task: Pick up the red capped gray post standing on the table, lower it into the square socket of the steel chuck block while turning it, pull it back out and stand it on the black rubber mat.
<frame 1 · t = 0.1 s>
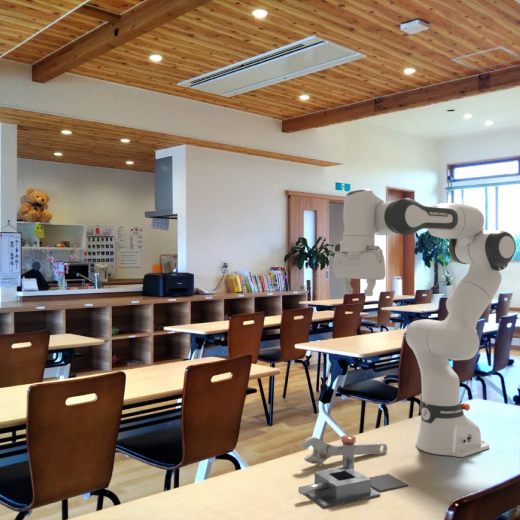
hand: (358, 294, 164), 48 cm above the table, fingers open, 8 cm apart
mat: (384, 483, 150), on the table
wrench: (345, 460, 167), on the table
chuck: (342, 492, 144), on the table
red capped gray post: (348, 474, 156), on the table
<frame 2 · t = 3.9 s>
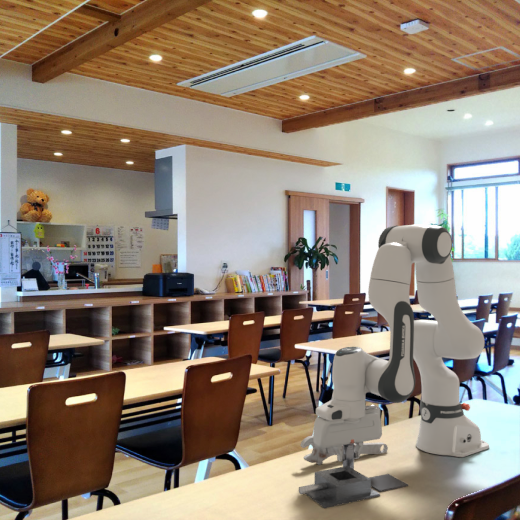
hand: (348, 459, 156), 4 cm above the table, fingers closed on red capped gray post, 3 cm apart
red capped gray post: (348, 474, 156), on the table, touching gripper
everything else where it was.
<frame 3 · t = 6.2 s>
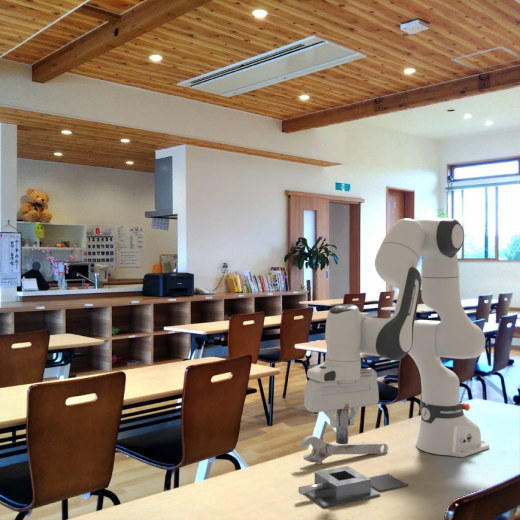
hand: (342, 425, 144), 17 cm above the table, fingers closed on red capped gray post, 3 cm apart
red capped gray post: (342, 442, 144), point 12 cm above the table, touching gripper
everything else where it was.
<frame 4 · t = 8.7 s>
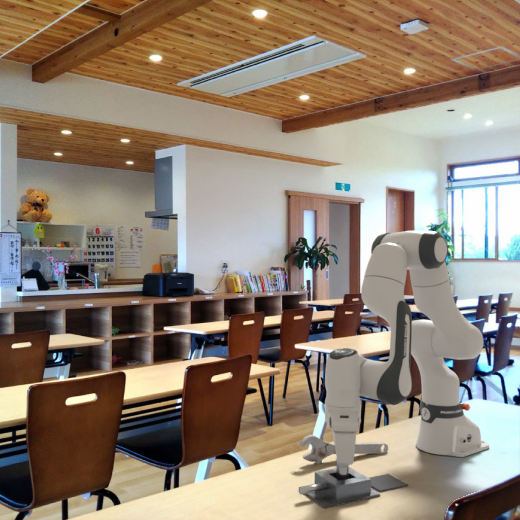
hand: (342, 470, 144), 5 cm above the table, fingers closed on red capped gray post, 3 cm apart
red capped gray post: (342, 486, 144), point 1 cm above the table, touching gripper
everything else where it was.
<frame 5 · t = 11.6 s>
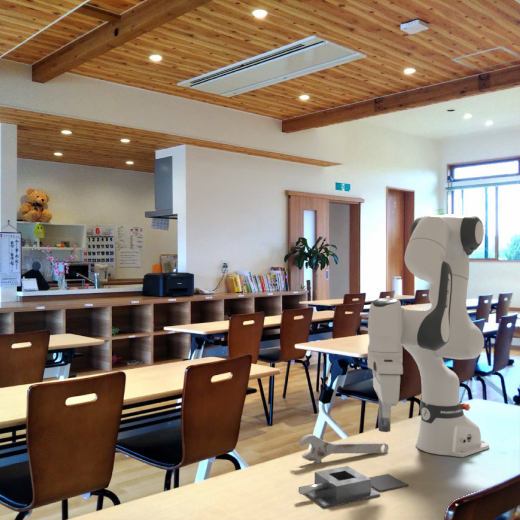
hand: (384, 414, 150), 18 cm above the table, fingers closed on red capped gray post, 3 cm apart
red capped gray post: (384, 430, 150), point 14 cm above the table, touching gripper
when the fingers open (5 cm above the table, at t = 14.0 s): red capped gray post stays where it is, resting on mat.
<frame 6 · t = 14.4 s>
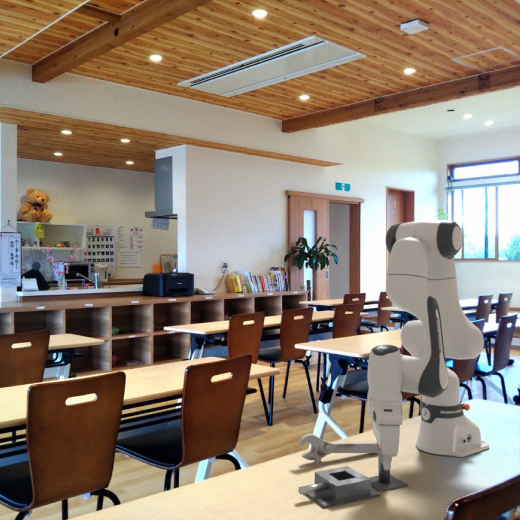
hand: (384, 462, 150), 5 cm above the table, fingers open, 8 cm apart
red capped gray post: (384, 481, 150), resting on mat
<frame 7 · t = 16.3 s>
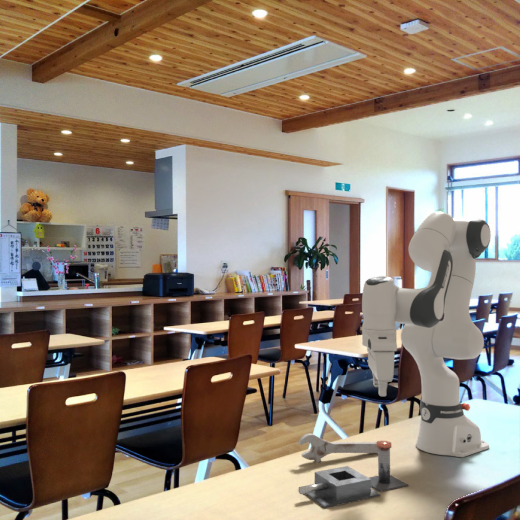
hand: (379, 391, 152), 23 cm above the table, fingers open, 8 cm apart
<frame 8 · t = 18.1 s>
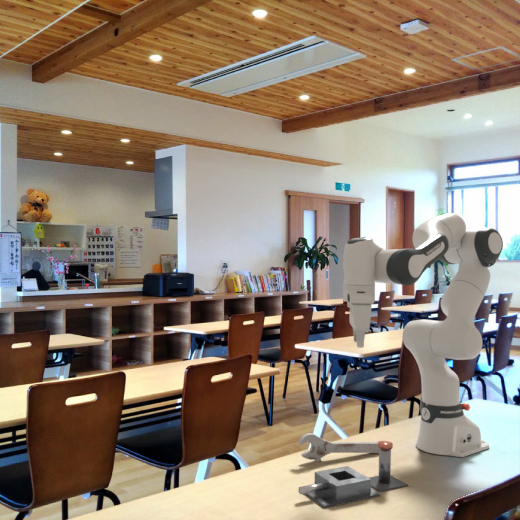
hand: (358, 344, 162), 34 cm above the table, fingers open, 8 cm apart
at the end: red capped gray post inside the target area on the mat (0.1 cm from its centre), point 0.4 cm above the mat's base; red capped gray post tilted 1°; the gripper is holding nothing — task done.
